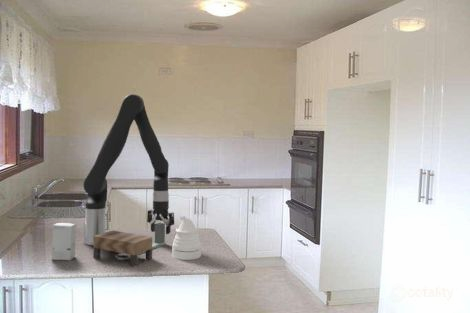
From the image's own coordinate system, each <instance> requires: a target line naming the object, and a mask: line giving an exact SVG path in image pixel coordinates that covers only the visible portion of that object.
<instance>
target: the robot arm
mask: <svg viewBox="0 0 470 313" xmlns="http://www.w3.org/2000/svg"><path fill="white" fill-rule="evenodd" d="M133 122H135V124H136V126H137V130H138V132H139V133H138V134H139V136H140V139H141V143H142V144H143V147H144V149H145V151H146V153H147V155H148V157H149V160H150V163H151V166H152V168H153V172H154V176H153V184H152V185H153V186H152V187H153V192H152V209H149V210H147V217H146V219H147V220H146V222H147V223H148V224H150V232H151V233H155V224H156V222H158V221H160V222H162V223H165V234H166V235H169V234H170V233H171V230H172V229H171V227H172V226H174V225H175V212H169V203H170V202H169V201H170V199H169V198H170V196H169V161H168V160H167V159H166V157H165V155H164V153H163V151H162V147H161V144H160V142H159V140H158V138H157V136H156V133H155V131H154V129H153V127H152V125H151V123H150V119H149V117H148V115H147V110H146V107H145V102H144V100H143V98H142V97H141V96H140V95H138V94H131V93H130V94H128V95H126V96H125V97H124V98H123V100H122V102H121V105H120V109H119V111H118V113H117V115H116V118H115V121H114V122H113V123H112V125H111V127H110V129H109V131H108V133H107V135H106V137H105V139H104V140H103V142H102V143H103V144H102V145H101V148H100V150H99V151H98V155H97V157H96V159H95V162H94V164H93V166H92V167H91V169H90V171H89V173H88V174H87V175H86V177H85V179H84V181H83V189H84V191H85V192H86V194H87V198H86V202H85V208H84V209H85V223H83V244H86V245H88V246H94V236H96V235H99V234H102V233H106V224H107V223H106V222H107V221H106V220H107V219H106V217H107V216H106V215H107V214H106V210H107V209H106V208H107V207H106V205H107V199H108V180H107V178H106V177H107V175H108V173H109V171H110V169H112V166H113V165H114V164H115V163H116V161H117V160H118V158H119V157H120V156H121V154H122V153H123V150H124V147H125V145H126V143H127V140H128V137H129V133H130V129H131V126H132V124H133Z"/></svg>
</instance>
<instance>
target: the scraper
mask: <svg viewBox="0 0 470 313" xmlns="http://www.w3.org/2000/svg"><path fill="white" fill-rule="evenodd" d="M165 234H166V224H165V223H164V222H158V223H155V231H154V242H152V250H153V249H156V248H158V247H161V246H164V245H166V243H167V242H166V235H165ZM143 253H146V251H144V252H142V253H139V254H138V255H140V254H143Z"/></svg>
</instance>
